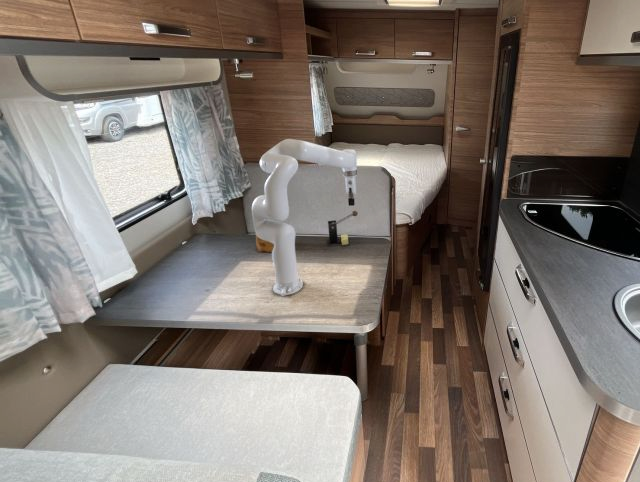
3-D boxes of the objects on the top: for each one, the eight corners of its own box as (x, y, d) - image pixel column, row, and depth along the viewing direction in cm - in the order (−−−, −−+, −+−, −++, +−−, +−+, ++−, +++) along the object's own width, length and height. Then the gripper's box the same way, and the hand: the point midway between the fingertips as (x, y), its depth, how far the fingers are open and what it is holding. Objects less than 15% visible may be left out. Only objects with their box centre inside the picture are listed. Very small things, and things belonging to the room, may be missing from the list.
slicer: (337, 239, 194) (336, 219, 190) (338, 244, 189) (337, 224, 185) (328, 240, 193) (327, 220, 189) (329, 245, 188) (327, 225, 183)
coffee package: (262, 243, 189) (256, 207, 181) (284, 243, 189) (279, 207, 181) (254, 252, 179) (248, 215, 171) (278, 252, 180) (272, 215, 172)
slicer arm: (358, 213, 191) (355, 208, 189) (358, 215, 188) (356, 210, 187) (331, 227, 189) (328, 223, 188) (331, 229, 186) (328, 225, 185)
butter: (348, 245, 188) (348, 239, 187) (342, 246, 187) (341, 240, 186) (347, 240, 195) (347, 233, 193) (341, 240, 194) (340, 234, 192)
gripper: (356, 176, 170) (358, 210, 177) (357, 168, 184) (358, 199, 191) (341, 177, 169) (343, 210, 176) (343, 169, 183) (345, 200, 190)
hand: (351, 205), depth 183 cm, fingers closed
